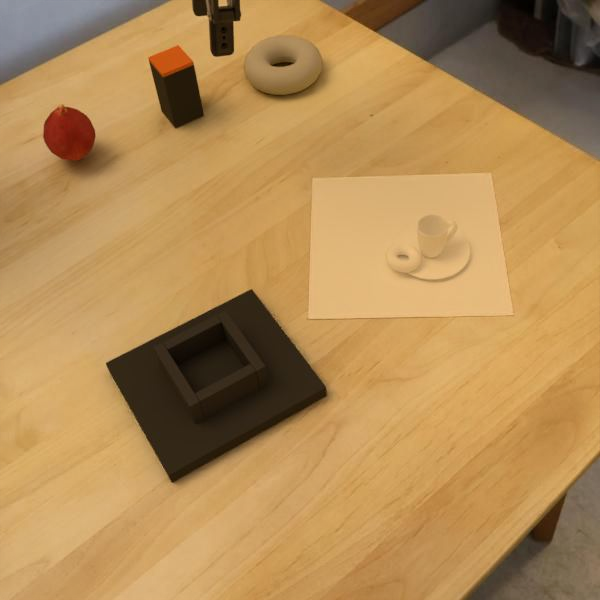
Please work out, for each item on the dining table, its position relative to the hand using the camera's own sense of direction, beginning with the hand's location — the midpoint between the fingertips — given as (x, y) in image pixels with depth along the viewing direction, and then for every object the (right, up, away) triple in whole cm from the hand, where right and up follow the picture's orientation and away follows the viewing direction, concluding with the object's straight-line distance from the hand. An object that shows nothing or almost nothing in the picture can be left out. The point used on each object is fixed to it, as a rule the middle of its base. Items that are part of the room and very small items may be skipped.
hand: (212, 33), depth 85 cm
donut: (+7, +2, +24) cm, 25 cm away
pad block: (-6, -4, +20) cm, 21 cm away
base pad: (+1, -34, -5) cm, 35 cm away
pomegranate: (-18, -10, +17) cm, 26 cm away
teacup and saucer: (+20, -21, +5) cm, 29 cm away
